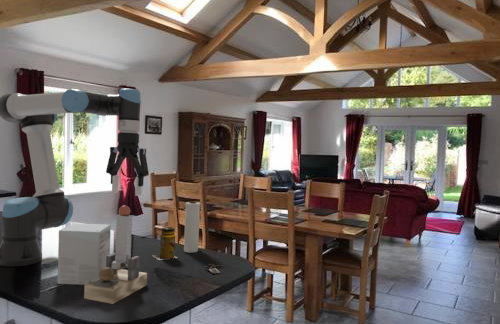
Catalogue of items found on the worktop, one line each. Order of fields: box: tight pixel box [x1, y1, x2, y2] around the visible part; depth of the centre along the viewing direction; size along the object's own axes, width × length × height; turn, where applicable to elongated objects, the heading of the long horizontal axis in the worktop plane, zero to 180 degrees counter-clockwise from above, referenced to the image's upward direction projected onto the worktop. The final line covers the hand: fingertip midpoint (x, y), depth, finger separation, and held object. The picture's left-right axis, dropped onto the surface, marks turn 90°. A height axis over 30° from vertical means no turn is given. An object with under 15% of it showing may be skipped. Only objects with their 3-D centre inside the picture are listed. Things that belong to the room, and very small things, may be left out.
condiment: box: [151, 226, 178, 261], centre depth 174 cm, size 7×8×12 cm
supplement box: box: [57, 222, 112, 286], centre depth 143 cm, size 13×13×18 cm
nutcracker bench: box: [83, 252, 148, 305], centre depth 132 cm, size 18×10×10 cm, turn 162°
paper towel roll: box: [183, 201, 201, 254], centre depth 185 cm, size 7×6×21 cm
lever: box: [112, 205, 133, 271], centre depth 133 cm, size 5×6×19 cm
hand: (126, 194), depth 155 cm, fingers open, 9 cm apart
